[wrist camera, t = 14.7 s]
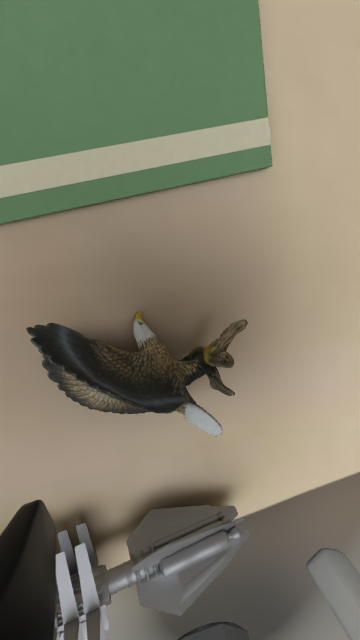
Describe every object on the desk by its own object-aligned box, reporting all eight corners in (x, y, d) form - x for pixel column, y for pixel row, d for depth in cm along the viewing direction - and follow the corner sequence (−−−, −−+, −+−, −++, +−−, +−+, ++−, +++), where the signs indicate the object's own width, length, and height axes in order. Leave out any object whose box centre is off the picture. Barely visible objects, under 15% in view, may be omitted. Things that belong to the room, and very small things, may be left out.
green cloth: (-156, 257, 13) (-169, 259, 12) (-346, -61, 10) (-377, -80, 9) (266, 168, 16) (273, 166, 16) (242, -92, 13) (250, -107, 12)
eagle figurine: (211, 261, 16) (19, 275, 12) (286, 379, 12) (38, 450, 8) (178, 346, 22) (39, 372, 18) (223, 445, 18) (56, 505, 14)
